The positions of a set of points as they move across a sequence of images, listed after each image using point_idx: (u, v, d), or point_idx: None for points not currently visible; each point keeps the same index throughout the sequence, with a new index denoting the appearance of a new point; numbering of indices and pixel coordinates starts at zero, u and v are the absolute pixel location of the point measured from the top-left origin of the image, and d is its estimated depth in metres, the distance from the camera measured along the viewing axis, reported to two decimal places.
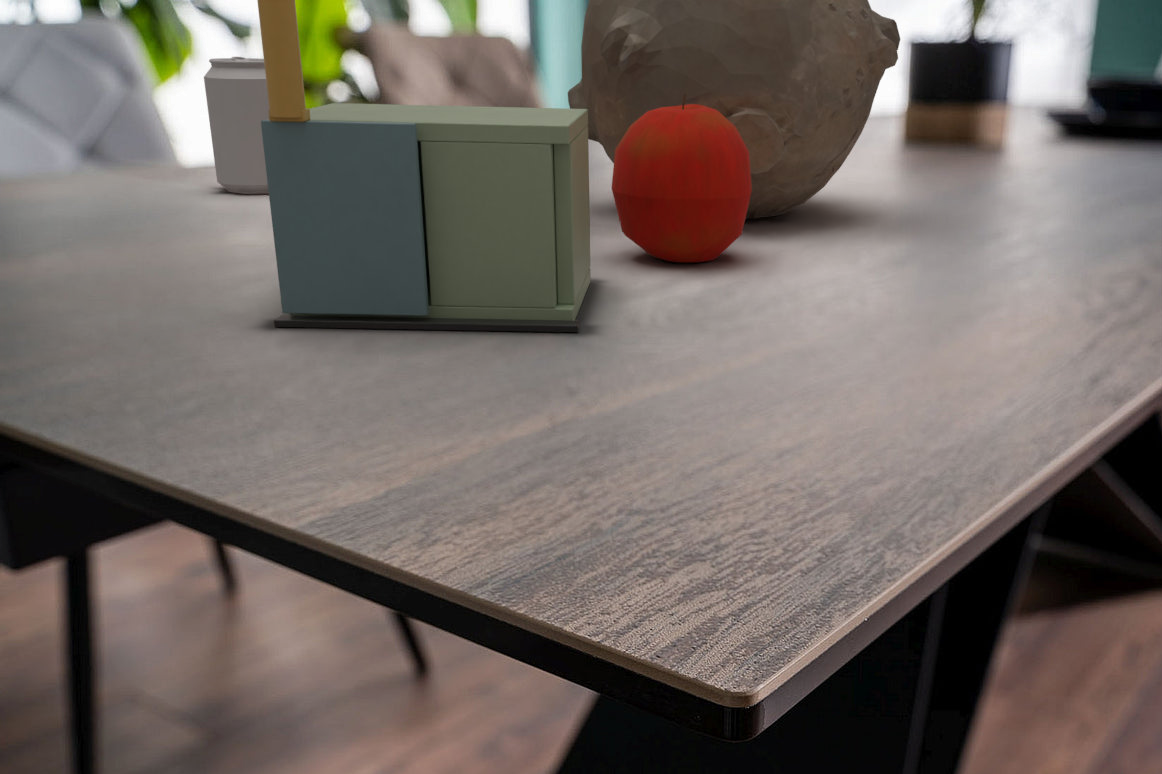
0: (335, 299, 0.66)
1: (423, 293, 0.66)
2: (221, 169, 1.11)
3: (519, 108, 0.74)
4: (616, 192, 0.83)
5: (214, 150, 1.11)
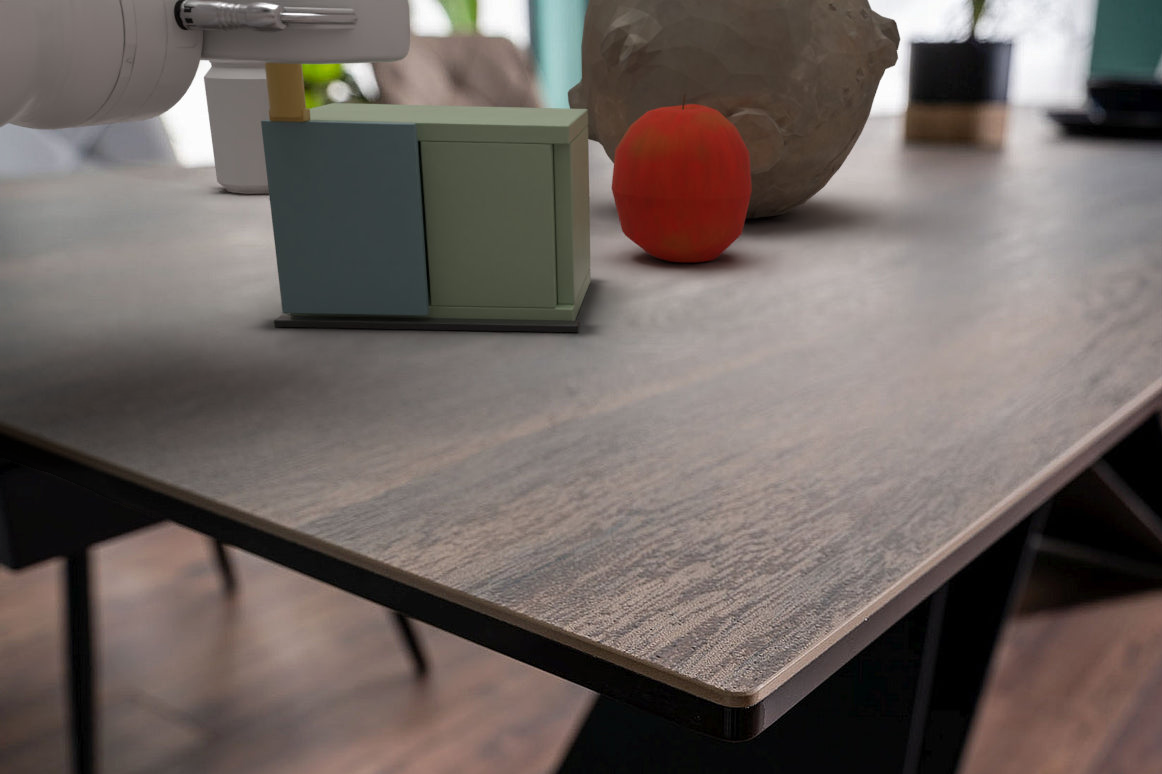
0: (335, 299, 0.66)
1: (423, 293, 0.66)
2: (221, 169, 1.11)
3: (519, 108, 0.74)
4: (616, 192, 0.83)
5: (214, 150, 1.11)
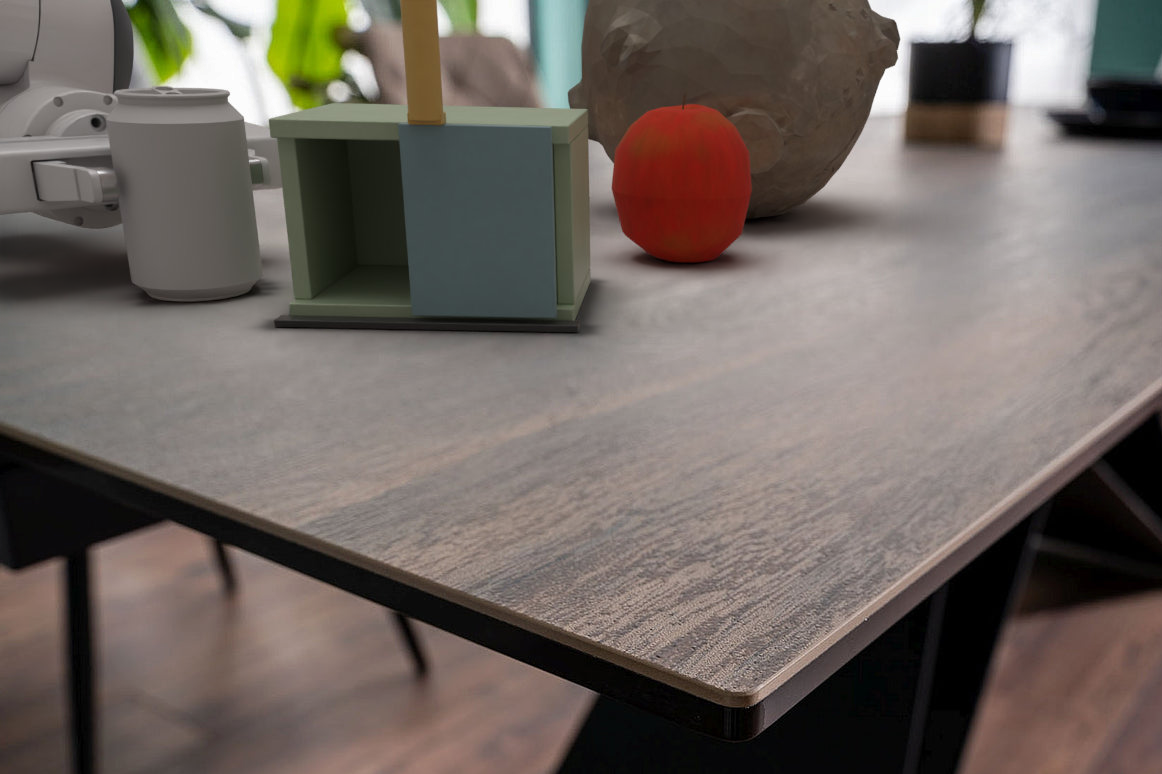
0: (465, 301, 0.66)
1: (553, 295, 0.66)
2: (137, 265, 0.70)
3: (519, 108, 0.74)
4: (616, 192, 0.83)
5: (125, 234, 0.70)
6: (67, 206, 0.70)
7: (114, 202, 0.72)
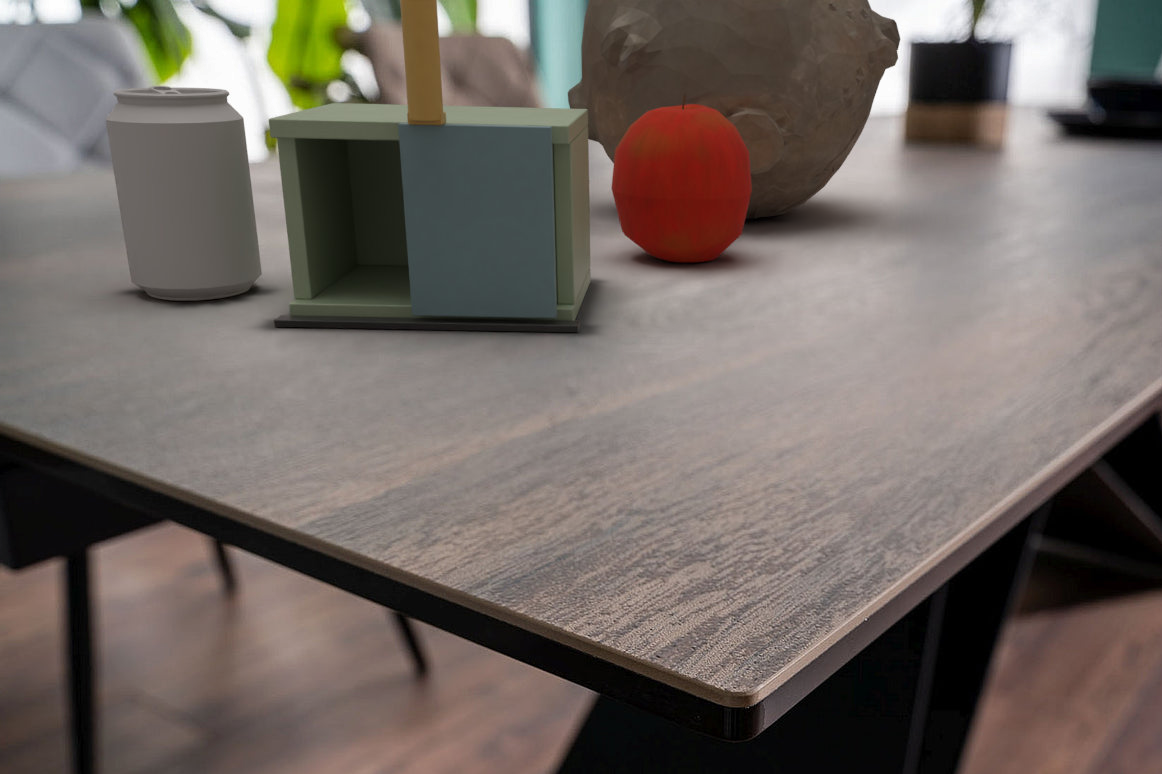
0: (465, 301, 0.66)
1: (553, 295, 0.66)
2: (138, 264, 0.70)
3: (519, 108, 0.74)
4: (616, 192, 0.83)
5: (125, 234, 0.70)
6: None
7: None
